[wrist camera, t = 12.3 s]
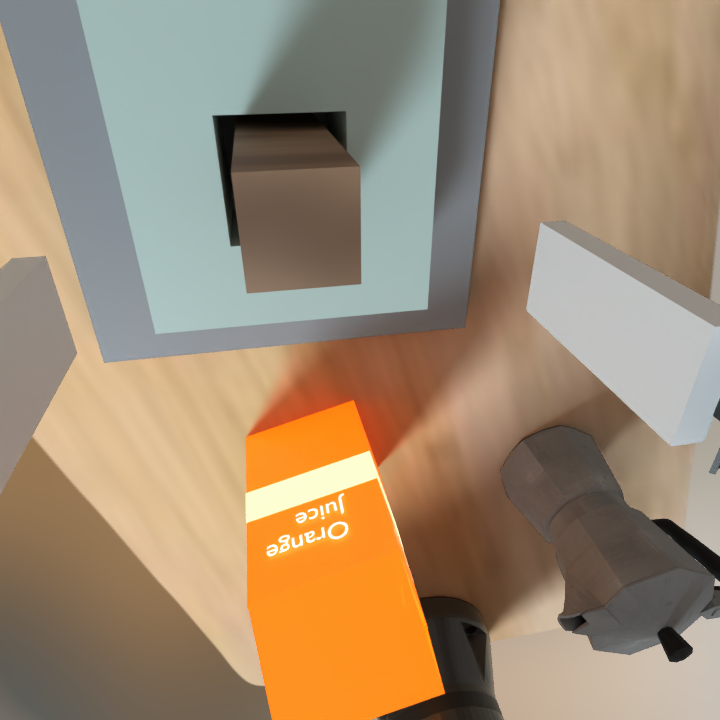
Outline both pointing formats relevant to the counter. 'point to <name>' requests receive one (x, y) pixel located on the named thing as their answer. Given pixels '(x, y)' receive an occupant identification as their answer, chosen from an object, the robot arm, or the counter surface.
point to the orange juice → (330, 576)
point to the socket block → (215, 150)
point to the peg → (295, 204)
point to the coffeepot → (610, 549)
